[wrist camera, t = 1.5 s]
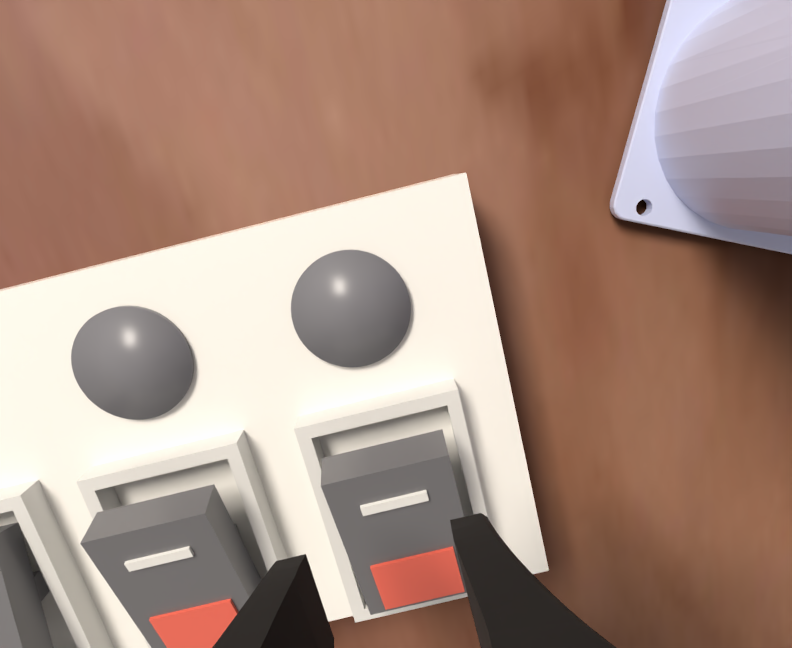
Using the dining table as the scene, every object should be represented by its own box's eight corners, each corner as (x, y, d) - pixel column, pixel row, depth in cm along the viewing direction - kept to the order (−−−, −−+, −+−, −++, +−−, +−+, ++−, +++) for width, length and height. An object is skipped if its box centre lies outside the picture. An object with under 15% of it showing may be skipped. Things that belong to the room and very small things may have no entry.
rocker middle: (214, 484, 15) (204, 515, 14) (274, 605, 18) (270, 641, 17) (97, 512, 16) (78, 546, 15) (172, 629, 18) (161, 666, 17)
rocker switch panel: (452, 174, 18) (471, 171, 14) (525, 517, 21) (557, 589, 17) (-158, 329, 19) (-293, 366, 15) (1, 640, 22) (-77, 735, 18)
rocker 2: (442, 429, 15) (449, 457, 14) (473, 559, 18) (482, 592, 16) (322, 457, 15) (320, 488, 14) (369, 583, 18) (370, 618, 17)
